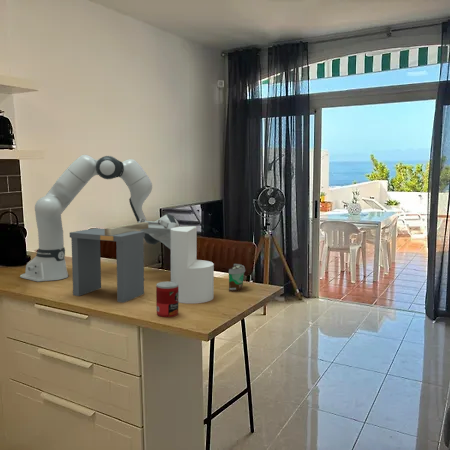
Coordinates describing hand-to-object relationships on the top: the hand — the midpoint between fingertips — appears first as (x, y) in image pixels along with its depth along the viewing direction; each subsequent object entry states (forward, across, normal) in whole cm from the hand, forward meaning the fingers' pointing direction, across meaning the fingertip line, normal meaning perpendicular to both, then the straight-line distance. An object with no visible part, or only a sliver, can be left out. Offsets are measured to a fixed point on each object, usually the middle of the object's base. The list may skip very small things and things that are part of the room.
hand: (150, 220), depth 200 cm
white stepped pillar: (-5, +27, +31) cm, 41 cm away
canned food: (+15, +29, +42) cm, 53 cm away
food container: (-22, +39, +21) cm, 49 cm away
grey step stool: (+5, -6, +36) cm, 37 cm away
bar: (+13, 0, +11) cm, 17 cm away
